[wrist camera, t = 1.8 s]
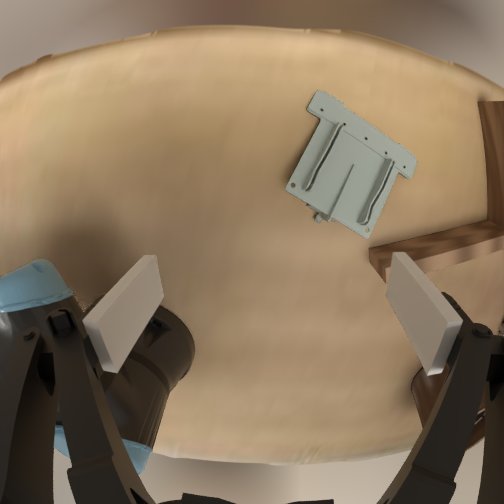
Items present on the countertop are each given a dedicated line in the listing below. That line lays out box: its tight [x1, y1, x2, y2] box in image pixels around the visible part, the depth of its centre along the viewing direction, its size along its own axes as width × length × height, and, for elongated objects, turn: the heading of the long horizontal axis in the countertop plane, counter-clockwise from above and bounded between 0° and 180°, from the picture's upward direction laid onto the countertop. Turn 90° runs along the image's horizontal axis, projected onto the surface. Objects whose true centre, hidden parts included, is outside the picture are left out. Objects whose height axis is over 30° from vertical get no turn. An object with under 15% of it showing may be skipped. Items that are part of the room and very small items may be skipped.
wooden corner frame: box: [369, 101, 504, 284], centre depth 29 cm, size 23×20×6 cm
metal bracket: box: [285, 91, 417, 238], centre depth 31 cm, size 14×6×15 cm
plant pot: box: [411, 362, 485, 451], centre depth 37 cm, size 16×16×16 cm
